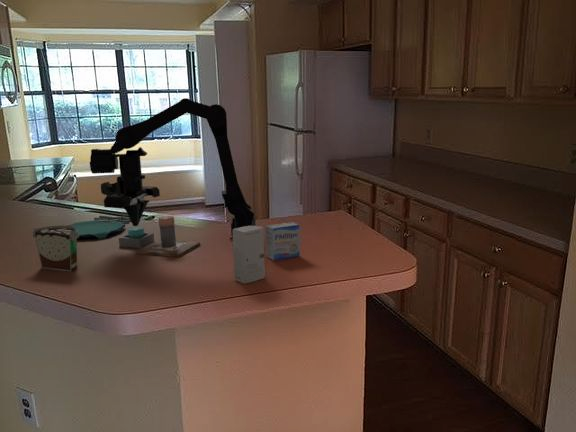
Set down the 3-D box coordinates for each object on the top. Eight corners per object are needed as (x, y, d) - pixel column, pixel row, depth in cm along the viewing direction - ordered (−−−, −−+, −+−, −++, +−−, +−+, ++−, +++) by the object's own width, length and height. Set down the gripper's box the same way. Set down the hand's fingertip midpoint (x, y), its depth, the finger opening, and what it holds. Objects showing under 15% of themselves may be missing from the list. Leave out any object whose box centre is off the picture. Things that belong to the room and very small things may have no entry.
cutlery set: (44, 240, 150) (43, 233, 150) (96, 219, 179) (95, 213, 179) (105, 242, 147) (104, 235, 147) (148, 221, 176) (147, 214, 176)
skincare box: (245, 284, 110) (243, 232, 108) (233, 279, 114) (231, 228, 111) (266, 277, 114) (264, 227, 112) (253, 273, 118) (252, 224, 115)
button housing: (154, 241, 146) (153, 233, 146) (140, 248, 140) (139, 239, 139) (134, 240, 148) (133, 231, 148) (119, 246, 142) (118, 237, 141)
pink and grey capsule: (179, 243, 140) (176, 216, 138) (172, 248, 136) (169, 219, 134) (165, 242, 141) (163, 215, 139) (158, 247, 137) (155, 219, 135)
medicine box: (273, 261, 126) (272, 228, 124) (265, 256, 130) (265, 224, 128) (300, 256, 130) (299, 224, 128) (292, 252, 134) (291, 221, 132)
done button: (147, 235, 145) (146, 228, 144) (138, 239, 141) (137, 231, 140) (134, 234, 146) (133, 227, 146) (125, 238, 142) (124, 230, 142)
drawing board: (200, 244, 142) (200, 241, 142) (178, 257, 131) (178, 253, 131) (161, 241, 146) (160, 238, 146) (136, 253, 135) (136, 249, 135)
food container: (93, 264, 126) (89, 226, 124) (76, 272, 121) (71, 232, 118) (55, 260, 130) (50, 223, 128) (36, 267, 125) (31, 229, 122)
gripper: (127, 167, 150) (131, 217, 154) (84, 176, 133) (90, 232, 137) (158, 168, 147) (162, 219, 150) (119, 177, 130) (124, 234, 133)
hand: (135, 225), depth 143 cm, fingers closed
